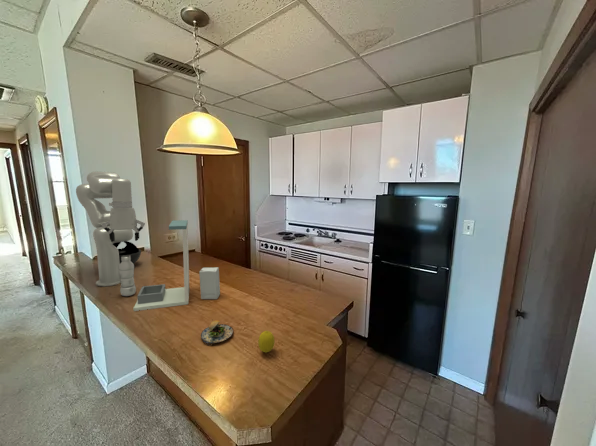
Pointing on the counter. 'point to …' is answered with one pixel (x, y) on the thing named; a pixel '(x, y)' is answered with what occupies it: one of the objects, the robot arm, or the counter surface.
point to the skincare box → (209, 283)
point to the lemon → (266, 341)
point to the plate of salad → (216, 333)
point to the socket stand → (157, 293)
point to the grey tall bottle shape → (127, 276)
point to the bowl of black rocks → (129, 251)
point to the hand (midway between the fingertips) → (125, 240)
